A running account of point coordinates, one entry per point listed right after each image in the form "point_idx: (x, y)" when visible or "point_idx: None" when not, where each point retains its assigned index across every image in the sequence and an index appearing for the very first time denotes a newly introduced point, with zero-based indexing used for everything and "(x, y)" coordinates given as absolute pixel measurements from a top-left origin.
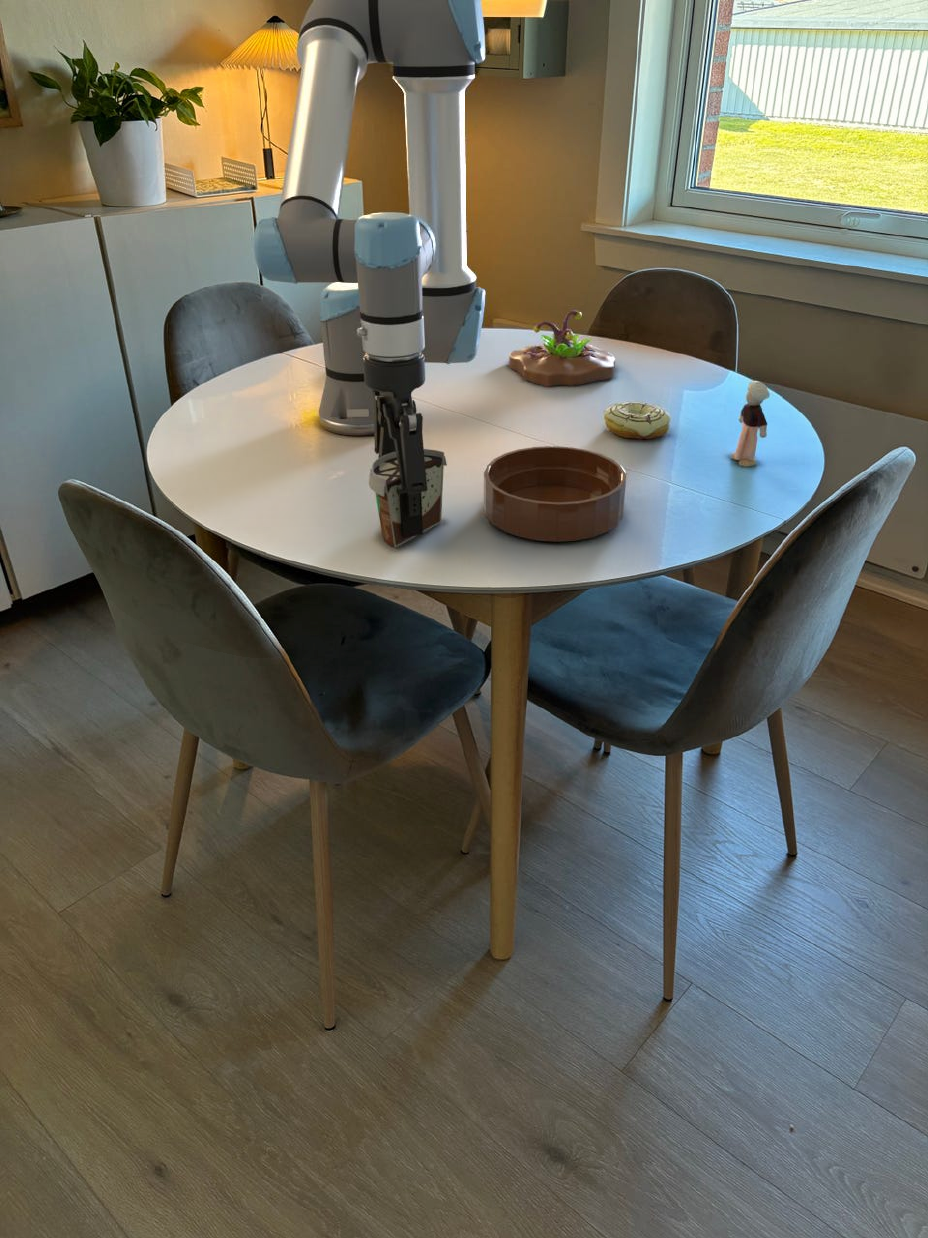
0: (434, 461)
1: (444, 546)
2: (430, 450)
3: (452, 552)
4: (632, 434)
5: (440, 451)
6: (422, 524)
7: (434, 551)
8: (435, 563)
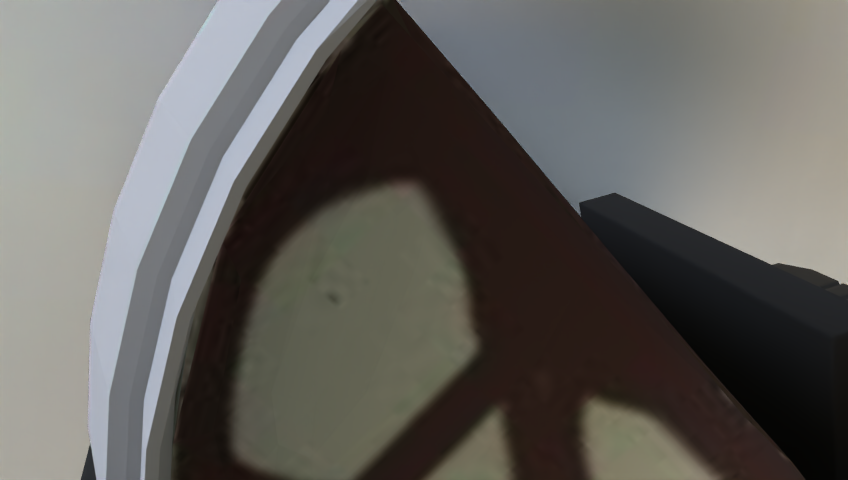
0: (493, 148)
1: (644, 46)
2: (223, 228)
3: (726, 5)
4: None
5: (361, 12)
6: (656, 212)
7: (686, 117)
8: (810, 124)
